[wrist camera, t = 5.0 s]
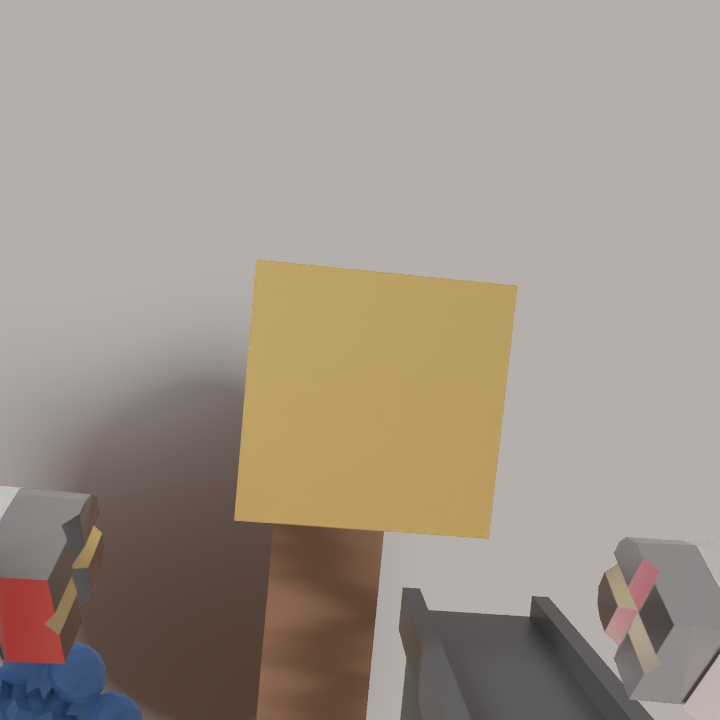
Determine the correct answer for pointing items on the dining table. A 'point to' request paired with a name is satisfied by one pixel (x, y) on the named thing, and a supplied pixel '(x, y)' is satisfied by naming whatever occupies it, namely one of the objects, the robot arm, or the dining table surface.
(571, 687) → the cradle
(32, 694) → the grapes
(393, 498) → the yellow rectangular bar
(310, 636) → the stand
